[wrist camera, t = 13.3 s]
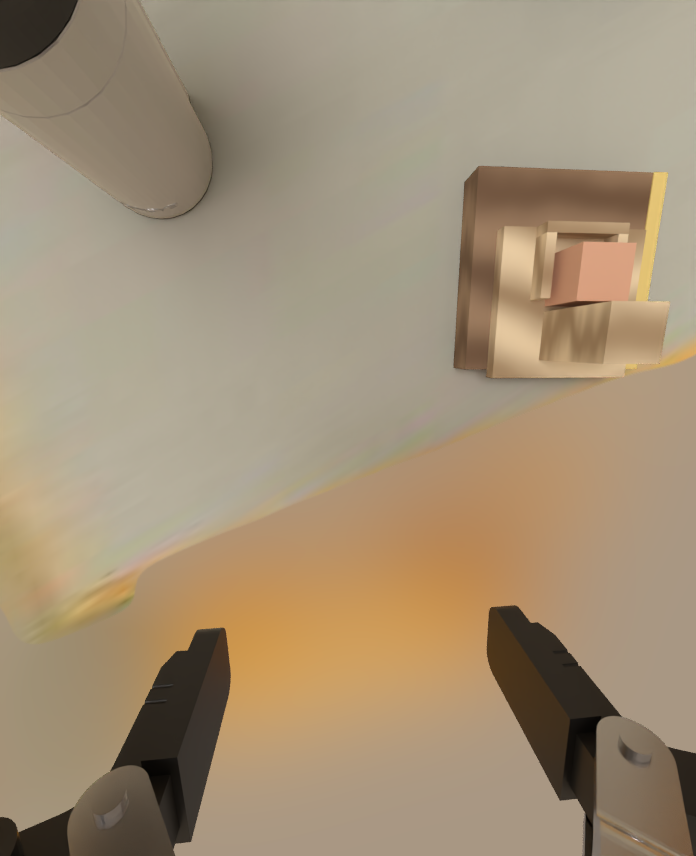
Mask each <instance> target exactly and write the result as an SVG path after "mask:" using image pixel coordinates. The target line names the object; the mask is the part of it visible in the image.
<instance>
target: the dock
mask: <svg viewBox="0 0 696 856" xmlns="http://www.w3.org/2000/svg"><path fill="white" fill-rule="evenodd" d="M667 176H668V173H664V172H654V173H649V172H623V171H596V170H570V169H544V168H518V167H492V166H478V168H477V169H476V170H475V171H474V172H473V173H472V174H471V176H470V177H469V178H468V179H467V180H466V181H465V184H464V201H463V218H462V235H461V251H460V268H459V285H458V301H457V318H456V335H455V351H454V368H460V369H487V361H488V348H489V335H490V323H491V310H492V297H493V284H494V271H495V258H496V245H497V232H498V230H499V229H501V228H503V227H504V226H520V227H538V226H540V225H542V224H543V223H545V222H547V221H578V222H615V223H630V228H629V229H639V230H646V236H645V243H644V249H643V256H642V262H641V269H640V275H639V282H638V288H637V295H636V301H647V300H648V294H649V288H650V282H651V276H652V269H653V263H654V257H655V251H656V244H657V238H658V232H659V226H660V220H661V213H662V207H663V201H664V195H665V189H666V182H667ZM625 369H637V364H626V366H625Z"/></svg>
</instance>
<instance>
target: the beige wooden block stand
mask: <svg viewBox="0 0 696 856" xmlns="http://www.w3.org/2000/svg"><path fill="white" fill-rule="evenodd" d="M629 228H630V223H615V222H578V221H547V222H545V223H543V224H542V225H540V226H538V227H520V226H504V227H503V228H501V229H499V230H498V232H497V245H496V258H495V271H494V284H493V297H492V310H491V323H490V335H489V348H488V361H487V374H486V377H489V378H601V377H624V373H625V366H626V364H660V358H661V352H662V346H663V340H664V335H665V329H666V323H667V317H668V312H669V306H670V302H665V301H636V295H637V288H638V282H639V275H640V269H641V262H642V256H643V249H644V243H645V236H646V230H639V229H629ZM581 242H623V243H637V245H636V252H635V258H634V265H633V272H632V278H631V285H630V291H629V298H628V301H609V302H602V303H596V304H590V305H584V306H577V307H544V306H545V299H549V298H550V295H551V286H552V277H553V267H554V258H555V253H557V252H559V251H562V250H564V249H567V248H569V247H572V246H574V245H577V244H579V243H581Z"/></svg>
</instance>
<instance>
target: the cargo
mask: <svg viewBox="0 0 696 856" xmlns="http://www.w3.org/2000/svg"><path fill="white" fill-rule="evenodd" d="M636 245H637V243H623V242H581V243H579V244H577V245H574V246H572V247H569V248H567V249H564V250H562V251H559V252H557V253H555V258H554V267H553V277H552V286H551V295H550V298H549V299H545V306H544V307H577V306H584V305H590V304H596V303H602V302H609V301H628V298H629V291H630V285H631V278H632V272H633V265H634V258H635V252H636Z"/></svg>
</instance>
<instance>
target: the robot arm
mask: <svg viewBox="0 0 696 856" xmlns="http://www.w3.org/2000/svg"><path fill="white" fill-rule="evenodd" d="M0 114H1V115H2V116H3V117H5V118H6V119H7V120H9V121H10V122H11V123H13V124H14V125H16V126H17V127H18V128H20V129H21V130H22V131H24V132H25V133H26V134H28V135H29V136H31V137H32V138H33V139H35V140H36V141H37V142H39V143H40V144H41V145H43V146H44V147H45V148H47V149H48V150H50V151H51V152H52V153H54V154H55V155H56V156H58V157H59V158H60V159H62V160H63V161H65V162H66V163H67V164H69V165H70V166H71V167H73V168H74V169H75V170H77V171H78V172H79V173H81V174H82V175H84V176H85V177H86V178H88V179H89V180H90V181H92V182H93V183H94V184H96V185H97V186H98V187H100V188H101V189H103V190H104V191H105V192H107V193H108V194H109V195H111V196H112V197H113V198H115V199H116V200H118V201H119V202H120V203H122V204H123V205H124V206H126V207H128V208H129V209H131V210H133V211H134V212H136V213H138V214H141V215H144V216H147V217H152V218H159V219H162V218H172V217H175V216H178V215H181V214H184V213H185V212H187V211H188V210H190V209H192V208H193V207H194V206H195V205H196V204H197V203H198V202H199V201H200V200H201V198H202V197H203V195H204V193H205V192H206V190H207V188H208V185H209V182H210V179H211V173H212V152H211V148H210V144H209V140H208V137H207V135H206V133H205V131H204V129H203V127H202V125H201V123H200V121H199V119H198V117H197V115H196V113H195V111H194V110H193V108H192V106H191V104H190V102H189V95H188V93H187V91H186V89H185V87H184V85H183V84H182V82H181V80H180V78H179V76H178V74H177V72H176V70H175V68H174V66H173V64H172V62H171V60H170V58H169V57H168V55H167V53H166V51H165V49H164V47H163V45H162V43H161V41H160V39H159V37H158V35H157V33H156V31H155V30H154V28H153V26H152V24H151V22H150V20H149V18H148V16H147V14H146V12H145V10H144V8H143V6H142V4H141V3H140V1H139V0H0ZM228 655H229V654H228V646H227V638H226V631H225V629H224V628H213V629H201V630H197V631H196V633H195V635H194V637H193V640H192V642H191V644H190V647H189V649H188V651H177V652H175V654H174V655H173V656H172V657H171V658H170V659H169V660H168V661H167V662H166V663H165V664H164V665H163V666H162V667H161V669H160V671H159V673H158V675H157V677H156V679H155V681H154V684H153V686H152V689H151V690H150V692H149V694H148V696H147V698H146V700H145V704H144V705H143V706H142V708H141V710H140V712H139V714H138V716H137V719H136V720H135V722H134V725H133V727H132V729H131V731H130V733H129V735H128V737H127V739H126V741H125V743H124V745H123V747H122V749H121V751H120V753H119V755H118V757H117V759H116V761H115V763H114V765H113V767H112V769H111V771H110V772H108V773H107V774H105V775H103V776H102V777H101V778H99V779H98V780H97V781H95V782H94V783H93V784H92V785H91V786H90V787H89V788H88V789H87V790H86V791H85V792H84V794H83V795H82V796H81V797H80V799H79V800H78V802H77V803H76V805H75V807H73V808H72V809H70V810H68V811H66V812H64V813H62V814H60V815H58V816H56V817H53V818H51V819H49V820H46V821H44V822H42V823H39V824H37V825H35V826H33V827H30V828H28V829H25V830H23V831H21V832H18V830H17V827H16V824H15V823H14V822H13V821H12V820H11V819H9V818H4V817H0V856H175V854H174V851H173V849H174V845H175V844H176V843H185V842H191V840H192V836H193V832H194V828H195V824H196V820H197V816H198V812H199V809H200V805H201V801H202V797H203V793H204V789H205V785H206V781H207V777H208V773H209V769H210V766H211V762H212V758H213V754H214V750H215V746H216V742H217V739H218V735H219V731H220V727H221V723H222V719H223V715H224V711H225V707H226V703H227V700H228V695H229V690H230V678H231V677H230V676H231V675H230V664H229V656H228ZM487 657H488V662H489V665H490V668H491V671H492V673H493V675H494V677H495V679H496V681H497V683H498V685H499V687H500V688H501V690H502V692H503V694H504V696H505V698H506V700H507V702H508V703H509V705H510V707H511V709H512V711H513V713H514V715H515V717H516V719H517V720H518V722H519V724H520V726H521V728H522V730H523V732H524V734H525V735H526V737H527V739H528V741H529V743H530V745H531V747H532V749H533V751H534V753H535V754H536V756H537V758H538V760H539V762H540V764H541V766H542V767H543V769H544V771H545V773H546V775H547V777H548V779H549V781H550V783H551V785H552V787H553V788H554V790H555V792H556V794H557V796H558V798H559V800H569V799H578V801H579V803H580V804H581V806H582V808H583V810H584V811H585V813H584V821H583V853H582V856H696V753H691V752H687V751H682V750H678V749H673V748H670V747H667V746H666V745H665V743H664V742H663V741H662V740H661V739H660V738H659V737H658V736H656V735H655V734H654V733H653V732H652V731H650V730H649V729H647V728H646V727H644V726H643V725H641V724H639V723H637V722H635V721H633V720H630V719H627V718H624V717H622V716H621V715H620V714H619V713H618V711H617V710H616V709H615V708H614V707H613V705H612V704H611V703H610V702H609V701H608V699H607V698H606V697H605V696H604V694H603V693H602V692H601V691H600V689H599V688H598V687H597V686H596V685H595V683H594V682H593V681H592V680H591V679H590V677H589V676H588V675H587V674H586V672H585V671H584V670H583V669H582V667H581V666H578V662H577V661H576V660H575V659H574V658H573V656H572V655H571V654H570V653H568V652H567V649H566V648H565V647H564V645H563V644H562V643H561V642H560V640H559V639H558V638H557V637H556V636H555V635H554V634H553V633H552V632H550V631H549V630H548V629H546V628H545V627H543V626H542V625H541V624H539V623H530V622H529V620H528V619H527V618H526V616H525V615H524V614H523V612H522V611H521V610H520V609H519V607H517V606H515V605H514V606H501V607H491V608H490V611H489V621H488V637H487Z"/></svg>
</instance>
